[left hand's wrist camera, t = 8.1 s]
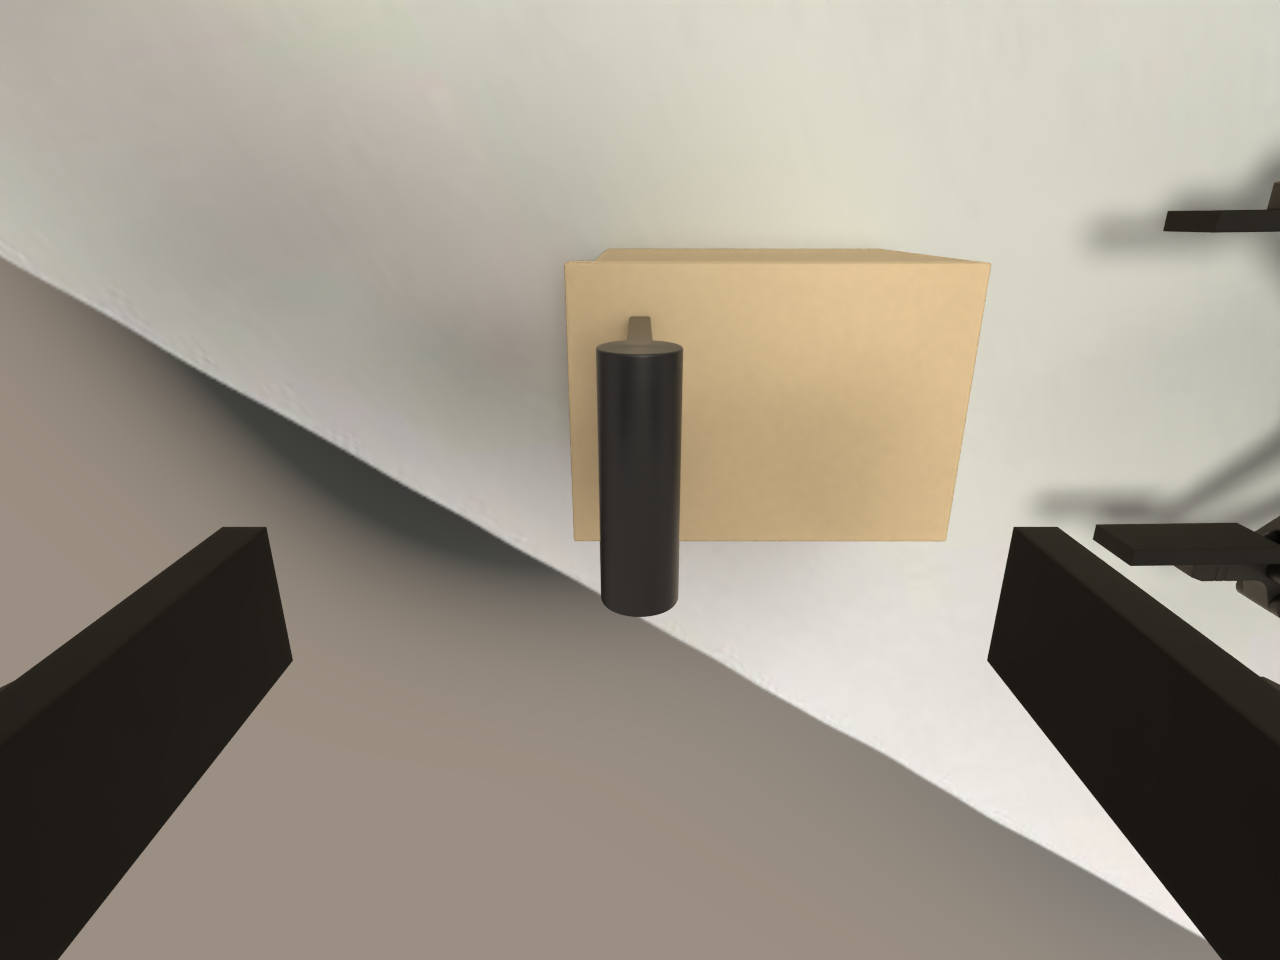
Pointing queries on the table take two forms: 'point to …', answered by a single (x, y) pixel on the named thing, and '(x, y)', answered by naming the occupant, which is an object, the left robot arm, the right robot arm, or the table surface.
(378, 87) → the table surface
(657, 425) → the lid
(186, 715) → the left robot arm
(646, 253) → the chest
